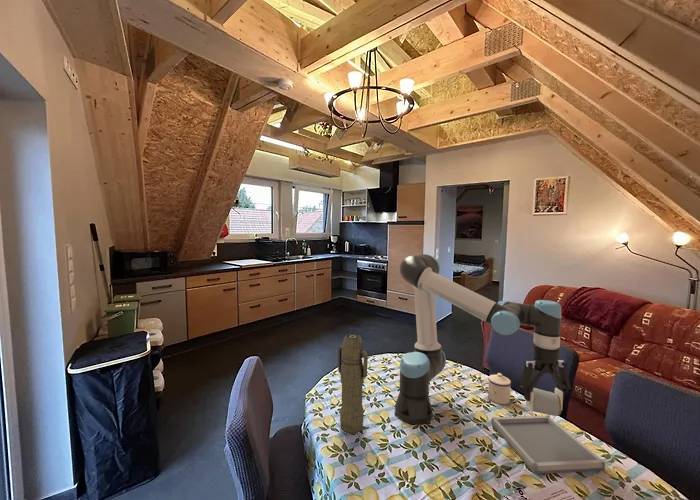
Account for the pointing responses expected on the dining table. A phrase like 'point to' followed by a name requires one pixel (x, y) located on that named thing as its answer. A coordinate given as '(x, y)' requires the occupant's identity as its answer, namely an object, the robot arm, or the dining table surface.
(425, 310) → the robot arm
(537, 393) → the ceramic mug
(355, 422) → the thermos
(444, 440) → the dining table surface
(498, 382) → the teacup with lid
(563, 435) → the drying tray
